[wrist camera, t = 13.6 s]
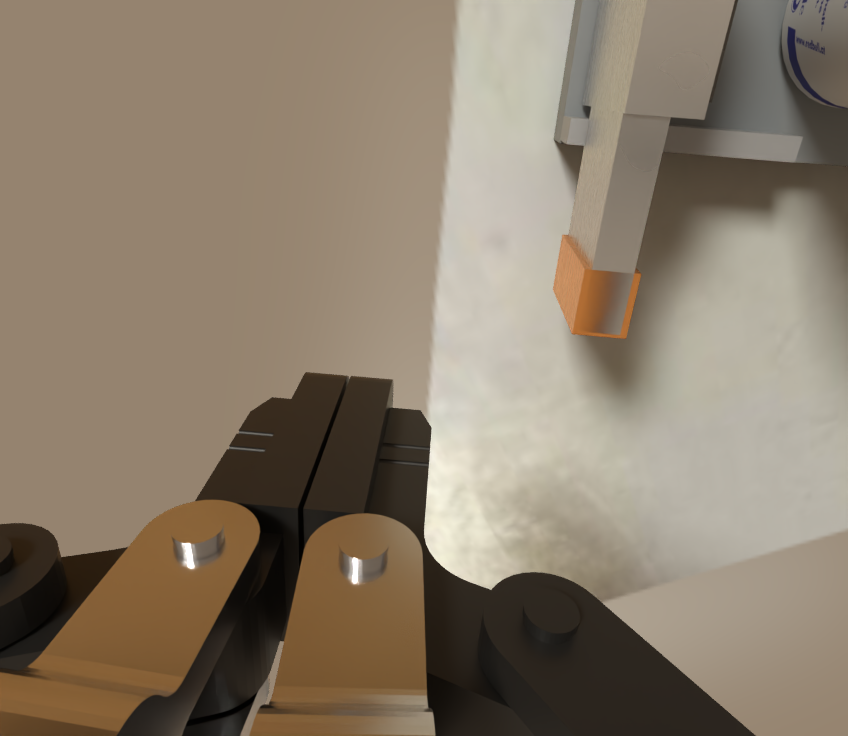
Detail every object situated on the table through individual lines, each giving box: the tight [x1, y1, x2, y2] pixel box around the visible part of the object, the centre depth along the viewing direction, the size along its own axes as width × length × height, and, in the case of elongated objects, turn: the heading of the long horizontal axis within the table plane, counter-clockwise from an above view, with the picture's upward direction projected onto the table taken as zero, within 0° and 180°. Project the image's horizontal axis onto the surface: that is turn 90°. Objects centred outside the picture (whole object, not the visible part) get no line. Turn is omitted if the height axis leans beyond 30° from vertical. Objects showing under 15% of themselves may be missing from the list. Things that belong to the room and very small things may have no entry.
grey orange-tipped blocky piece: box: [553, 0, 738, 339], centre depth 18 cm, size 2×12×6 cm, turn 176°
